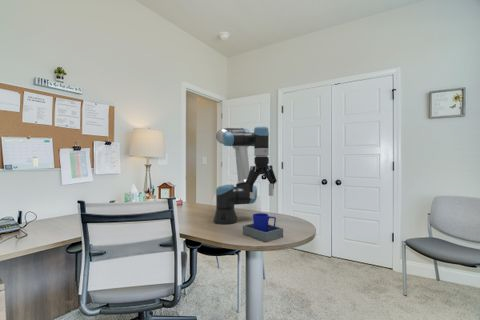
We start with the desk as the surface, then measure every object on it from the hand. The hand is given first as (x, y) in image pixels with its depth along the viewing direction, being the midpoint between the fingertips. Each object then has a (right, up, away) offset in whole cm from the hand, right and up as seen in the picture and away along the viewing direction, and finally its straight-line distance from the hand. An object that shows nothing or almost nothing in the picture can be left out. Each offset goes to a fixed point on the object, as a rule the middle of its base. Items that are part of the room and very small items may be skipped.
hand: (261, 197), depth 129 cm
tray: (0, -20, 0) cm, 20 cm away
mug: (+1, -20, 0) cm, 20 cm away
